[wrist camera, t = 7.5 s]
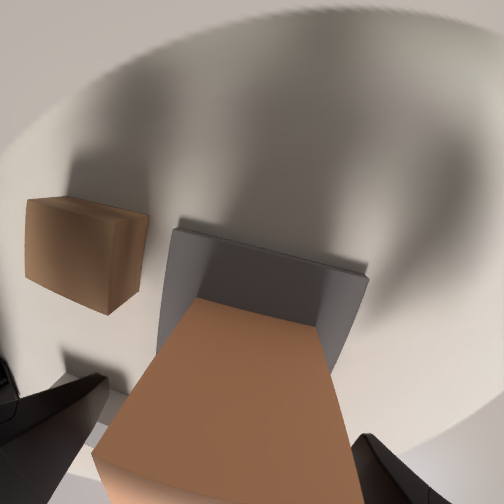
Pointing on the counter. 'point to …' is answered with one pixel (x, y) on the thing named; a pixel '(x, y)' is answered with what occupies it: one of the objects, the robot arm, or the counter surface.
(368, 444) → the robot arm
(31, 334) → the counter surface
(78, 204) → the walnut block
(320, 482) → the terracotta block
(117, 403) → the grey plastic block
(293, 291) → the charcoal mat
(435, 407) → the counter surface
